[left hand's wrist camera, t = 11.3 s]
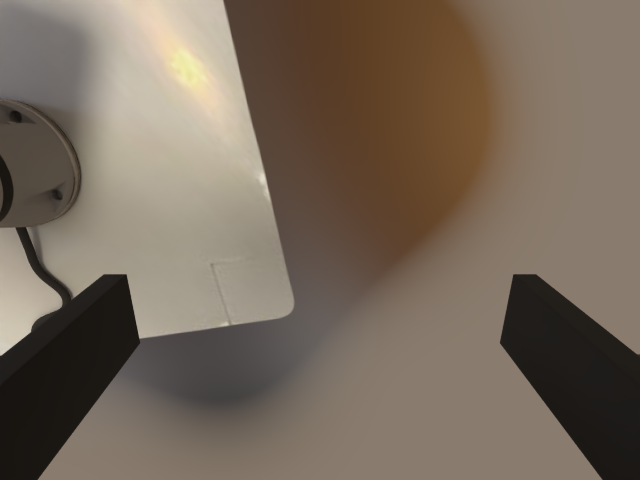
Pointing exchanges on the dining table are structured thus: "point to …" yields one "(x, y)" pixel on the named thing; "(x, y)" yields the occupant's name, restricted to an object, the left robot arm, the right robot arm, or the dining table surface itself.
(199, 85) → the dining table surface
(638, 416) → the left robot arm
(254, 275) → the dining table surface
